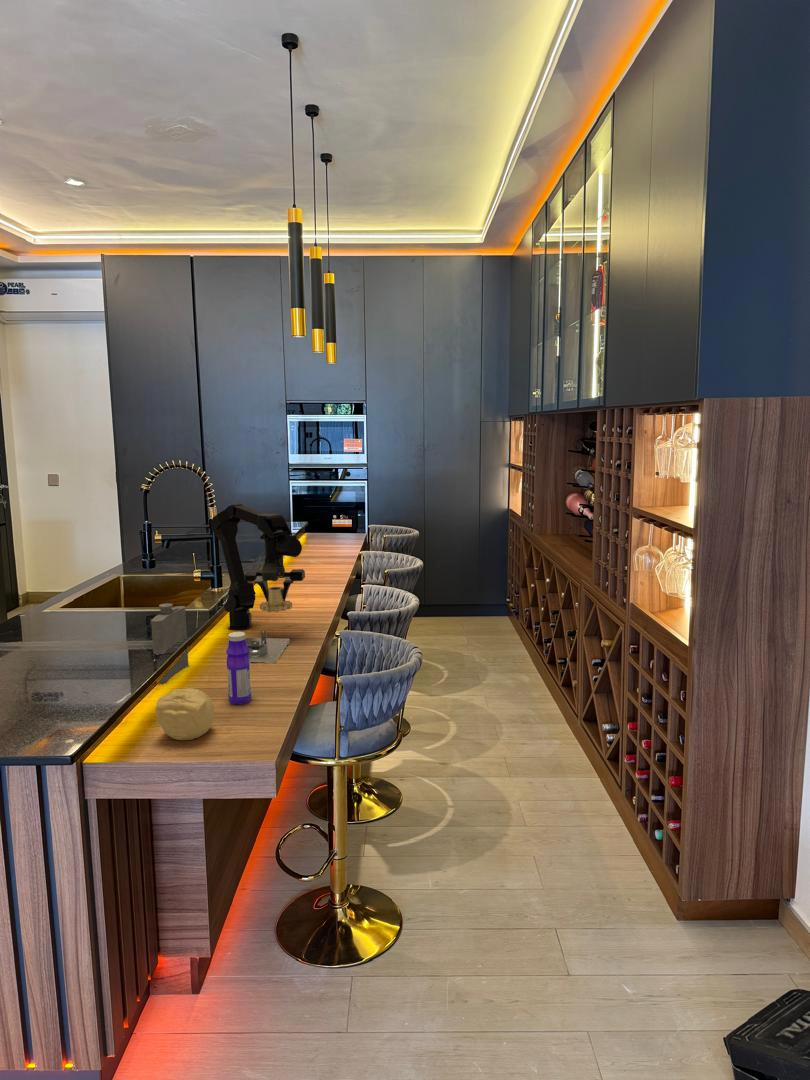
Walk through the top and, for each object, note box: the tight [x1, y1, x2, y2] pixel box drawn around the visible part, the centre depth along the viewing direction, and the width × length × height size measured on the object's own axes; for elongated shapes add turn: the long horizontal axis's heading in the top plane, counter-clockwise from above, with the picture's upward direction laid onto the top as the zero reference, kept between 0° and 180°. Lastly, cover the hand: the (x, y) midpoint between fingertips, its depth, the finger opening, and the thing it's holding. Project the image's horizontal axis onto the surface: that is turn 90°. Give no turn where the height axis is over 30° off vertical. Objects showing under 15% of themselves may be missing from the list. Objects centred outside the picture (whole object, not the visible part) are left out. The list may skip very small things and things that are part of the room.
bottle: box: [225, 631, 252, 705], centre depth 176 cm, size 7×6×17 cm
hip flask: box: [150, 603, 190, 685], centre depth 195 cm, size 16×4×20 cm, turn 172°
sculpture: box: [155, 687, 215, 741], centre depth 158 cm, size 12×12×11 cm
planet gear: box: [259, 586, 293, 613], centre depth 228 cm, size 10×10×6 cm
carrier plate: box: [245, 630, 291, 664], centre depth 215 cm, size 14×20×5 cm
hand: (275, 601), depth 228 cm, fingers closed on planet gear, 5 cm apart
